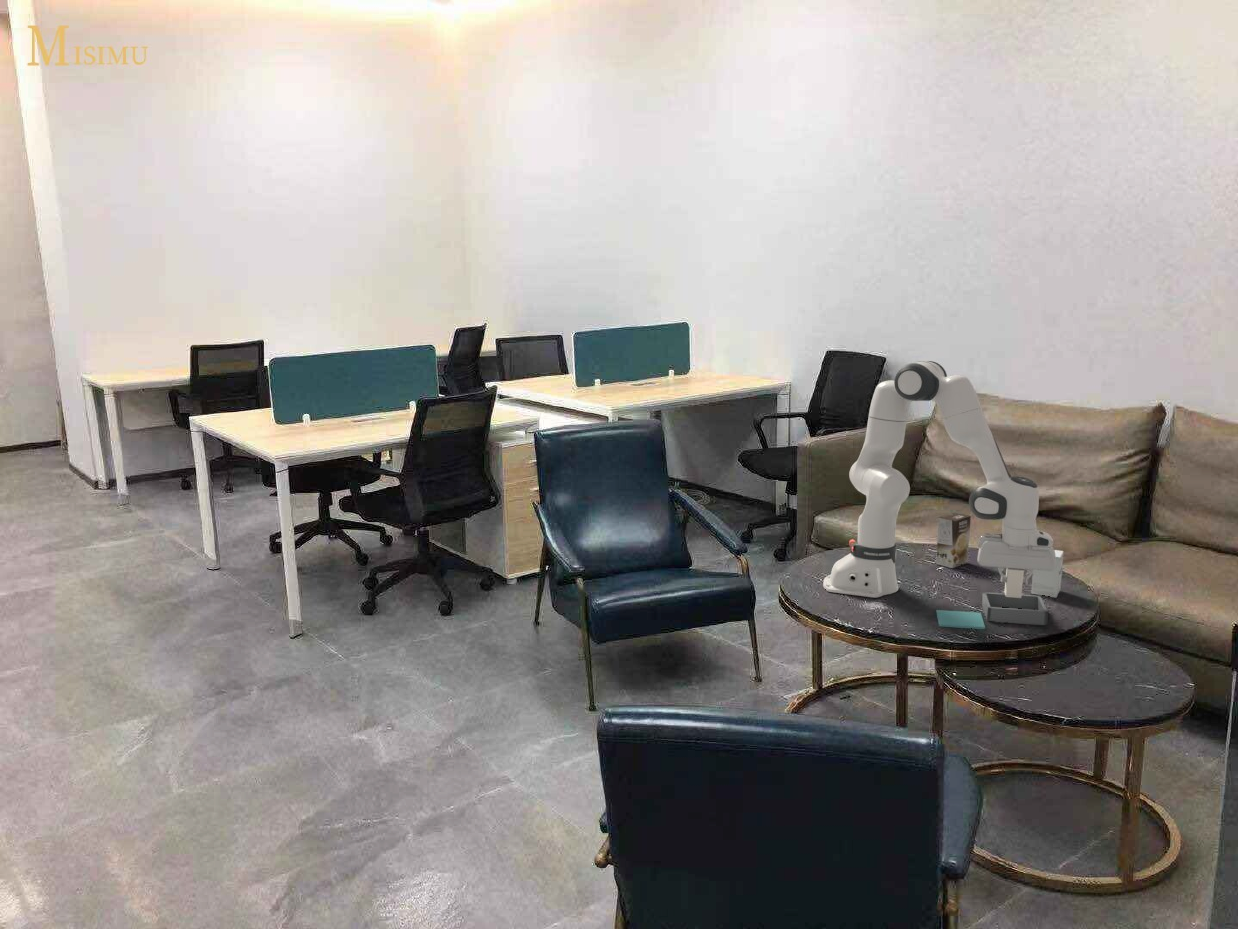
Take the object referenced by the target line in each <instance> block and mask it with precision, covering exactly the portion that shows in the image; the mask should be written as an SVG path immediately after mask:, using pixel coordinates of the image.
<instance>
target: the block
mask: <svg viewBox="0 0 1238 929" xmlns="http://www.w3.org/2000/svg"><path fill="white" fill-rule="evenodd" d="M1024 573H1025V569H1016V568H1006V571H1005V575H1007V583H1005V582H1004V593H1003V594H1005V595H1006V597H1014V598H1021V596H1022V595H1023V585H1024V584H1023V576H1025V574H1024Z"/></svg>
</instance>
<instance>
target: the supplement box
mask: <svg viewBox="0 0 1238 929" xmlns="http://www.w3.org/2000/svg"><path fill="white" fill-rule="evenodd" d="M1054 551H1055V557H1056V566H1055V569H1054V570H1053V571H1041V570H1033V574H1032V576H1031V577H1032V578H1031V580H1032V581H1031V582H1032V583H1031V591H1030V593H1031V594H1030V595H1037V596H1042V595H1045V596H1044V597H1048V596H1050V598H1055V599H1056V598H1057V597H1058V595H1059V593H1060V592H1061V586H1062V578H1063V577H1062V576H1063V563H1064V555H1065V554H1064V552H1065V551H1063V550H1058V549H1054Z"/></svg>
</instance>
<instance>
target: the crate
mask: <svg viewBox="0 0 1238 929" xmlns="http://www.w3.org/2000/svg"><path fill="white" fill-rule="evenodd" d="M1041 596H1042V595H1036V594H1022V596H1021V598H1014V597H1006V595H1005V593H1002V592H1000V593H999V592H982V596H981V598H982V599H981V607H982V610H983V614H984V613H985V614H984V616H986V617H985V619H987V620H986V622H989V621H995V622H994V623H1004V622H1008V623H1009V624H1023V625H1037V626H1047V625H1048V618H1049V616H1048V615H1049V611H1048V609H1047V607H1046V605H1045V603H1044V600H1043V599H1042V597H1041ZM1002 607H1009V608H1002ZM1018 608H1022V609H1018ZM1034 609H1035V610H1034Z"/></svg>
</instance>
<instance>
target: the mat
mask: <svg viewBox="0 0 1238 929" xmlns="http://www.w3.org/2000/svg"><path fill="white" fill-rule="evenodd" d="M935 612H936V617H937V618H936V619H937V623H938V627H943V628H945V627H946V628H958V629H959V628H961V629H971V628H972V629H973V630H974V629H975V630H986V625H985V622H984V619H983V616H982V613H981V612H976V611H975V612H973V611H972V612H971V611H958V610H943V609H942V610H941V609H936V611H935Z"/></svg>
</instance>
